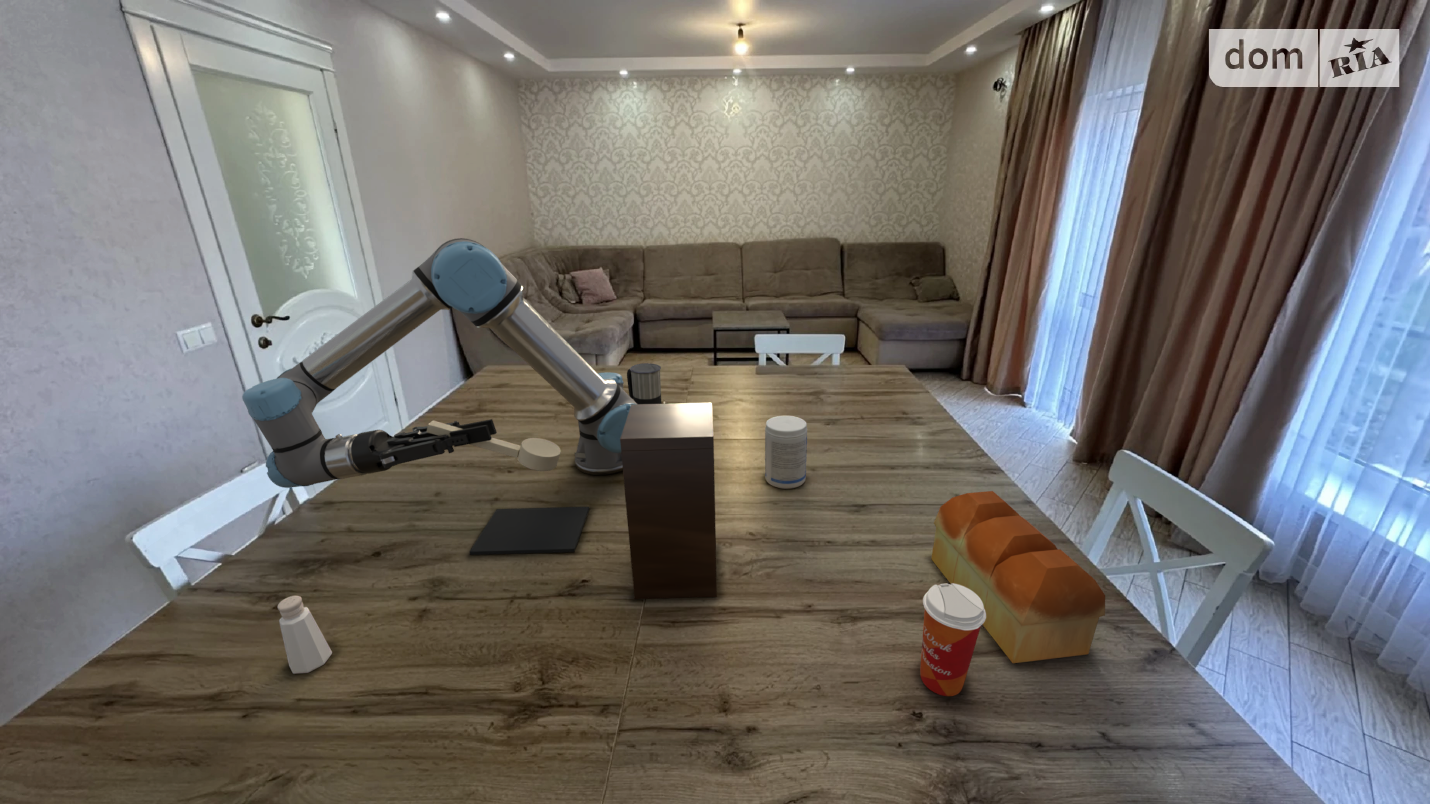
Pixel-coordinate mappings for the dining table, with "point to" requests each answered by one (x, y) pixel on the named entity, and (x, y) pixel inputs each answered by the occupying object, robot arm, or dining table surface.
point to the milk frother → (644, 383)
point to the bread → (1017, 579)
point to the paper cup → (949, 636)
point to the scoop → (513, 448)
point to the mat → (531, 531)
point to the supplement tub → (785, 451)
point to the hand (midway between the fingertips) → (491, 429)
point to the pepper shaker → (302, 637)
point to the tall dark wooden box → (670, 499)
